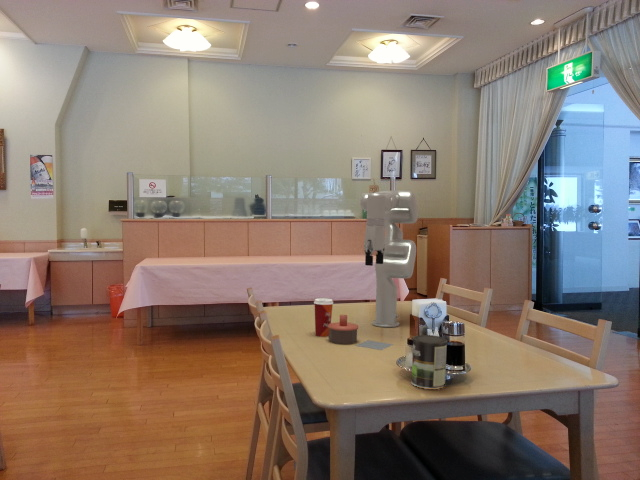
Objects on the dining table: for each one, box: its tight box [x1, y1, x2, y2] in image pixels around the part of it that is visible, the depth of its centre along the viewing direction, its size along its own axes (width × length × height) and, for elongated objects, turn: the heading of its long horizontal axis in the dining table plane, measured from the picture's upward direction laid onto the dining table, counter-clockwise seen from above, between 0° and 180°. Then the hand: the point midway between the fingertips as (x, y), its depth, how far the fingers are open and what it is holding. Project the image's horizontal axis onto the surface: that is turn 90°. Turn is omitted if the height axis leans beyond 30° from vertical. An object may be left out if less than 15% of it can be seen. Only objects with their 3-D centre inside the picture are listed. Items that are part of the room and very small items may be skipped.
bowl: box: [328, 328, 358, 345], centre depth 215 cm, size 10×10×6 cm
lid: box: [328, 314, 359, 331], centre depth 215 cm, size 12×12×5 cm
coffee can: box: [410, 334, 448, 388], centre depth 164 cm, size 10×10×14 cm
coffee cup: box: [313, 297, 334, 338], centre depth 227 cm, size 8×8×15 cm
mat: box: [354, 339, 394, 351], centre depth 210 cm, size 11×11×1 cm
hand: (374, 264), depth 224 cm, fingers open, 9 cm apart
